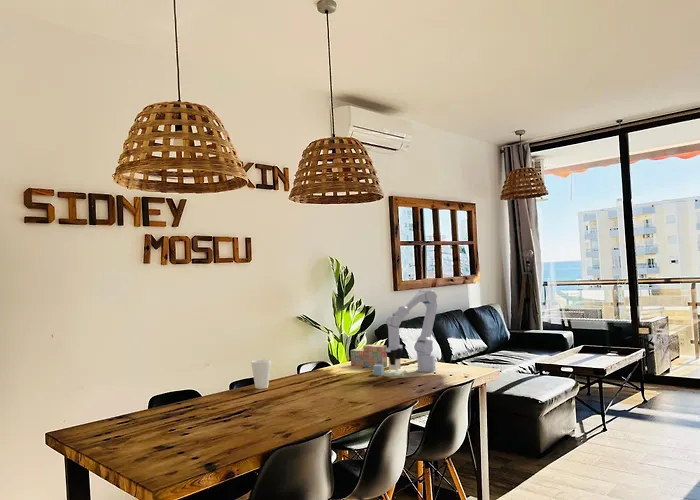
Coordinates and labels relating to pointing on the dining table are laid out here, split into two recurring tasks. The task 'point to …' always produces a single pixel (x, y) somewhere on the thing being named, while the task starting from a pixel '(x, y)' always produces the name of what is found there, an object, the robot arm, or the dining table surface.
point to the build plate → (395, 373)
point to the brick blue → (378, 370)
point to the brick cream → (396, 366)
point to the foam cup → (261, 372)
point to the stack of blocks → (369, 356)
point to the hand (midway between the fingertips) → (395, 364)
